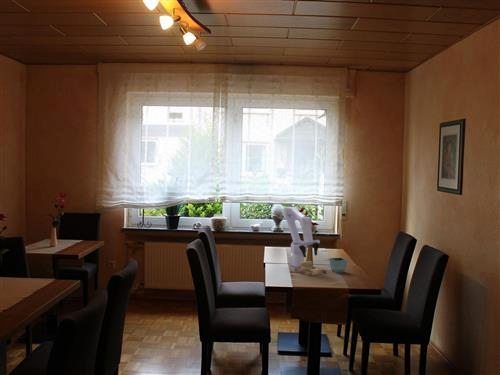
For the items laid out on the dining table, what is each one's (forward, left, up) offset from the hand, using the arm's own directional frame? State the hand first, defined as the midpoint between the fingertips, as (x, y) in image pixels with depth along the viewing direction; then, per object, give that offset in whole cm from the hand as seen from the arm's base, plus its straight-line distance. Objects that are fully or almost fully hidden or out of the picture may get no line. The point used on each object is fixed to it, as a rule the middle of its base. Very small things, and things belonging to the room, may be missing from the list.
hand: (310, 256), depth 304 cm
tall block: (-3, -1, -10) cm, 10 cm away
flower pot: (+8, +17, -11) cm, 22 cm away
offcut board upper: (+5, 0, -9) cm, 10 cm away
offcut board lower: (+5, -1, -10) cm, 11 cm away
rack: (+1, -1, -11) cm, 11 cm away
